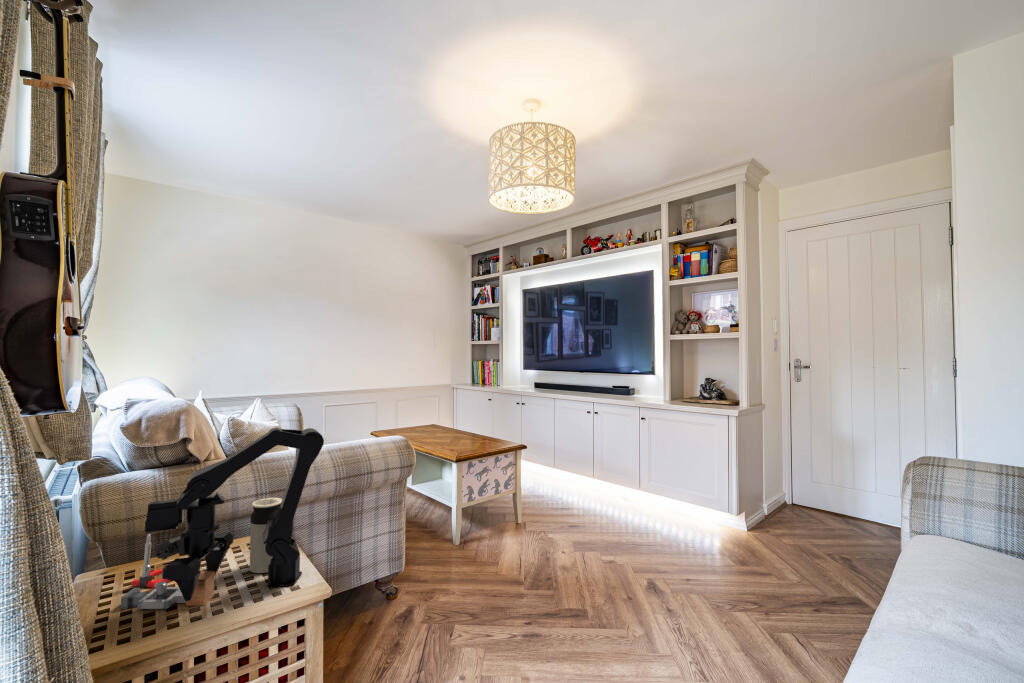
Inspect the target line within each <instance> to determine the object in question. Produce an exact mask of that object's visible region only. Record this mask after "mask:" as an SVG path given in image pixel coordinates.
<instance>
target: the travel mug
mask: <svg viewBox="0 0 1024 683" xmlns="http://www.w3.org/2000/svg"><path fill="white" fill-rule="evenodd" d="M282 499H283V498H280V497H266V498H261V499H257V500H256V501H253V502H252V503H251V506H252V508H253V511H252V513H251V515H250V528H249V529H250V534H249V538H250V541H249V571H250V572H251V573H255V574H265V573H266V574H267V573H268V565H269V564H270V560H271V558H272V557H271V556H269V555H268V554H267V553H266V550H265V544H264V543H263V537H262V534H263V532H264V531H265V529H266V525H267V520H272V521H273V520H274V518H275V517H276V516H277V514H278V511H279V508H280V505H281V502H282Z"/></svg>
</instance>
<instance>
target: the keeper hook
mask: <svg viewBox="0 0 1024 683" xmlns="http://www.w3.org/2000/svg"><path fill="white" fill-rule="evenodd" d="M167 587H168V582H160V583H158V584H156V598H155V599H153V600H166V599H167V598H168V596H167ZM146 595H148V591H141V587H133V588H131V589H130V590H129V591H128V592H126V593H125V594H124V595H122V596H121V597H120V610H129V609H130V608H134V607H135V608H136V607H137V608H138V601H140V600H141V599H142V598H144V597H145V596H146Z"/></svg>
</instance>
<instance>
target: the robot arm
mask: <svg viewBox="0 0 1024 683" xmlns="http://www.w3.org/2000/svg"><path fill="white" fill-rule="evenodd" d="M324 442H325V439H324V437H323V435H322V434H321V432H319V430H317V429H315V428H311V427H308V428H305V429H302V430H301V429H300V430H299V429H290V428H289V429H288V428H280V427H274V428H271V429H269V430H268V431H267V432H266V433H264V434H263V435H262V436H260V437H258V438H257V439H255V440H253V441H252V442H250V443H248V444H247V445H245V446H243V447H242V448H241V449H239V450H237V451H236V452H234V453H233V454H231V455H229V456H228V457H226V458H225V459H223V460H221V461H217V462H214V463H212V464H210V465H207V466H205V467H202V468H200V469H197V470H195V471H194V472H193V473H192V474H191V475H190V476H189V478H188V481H187V484H186V487H185V489H184V490H183V491H182V492H181V493H180V495H179V496H178V498H175V499H169V500H167V499H166V500H161V501H160V500H155V501H154V500H153V501H150V502H149V503H148V505H147V513H146V519H145V522H144V531H145V532H144V533H145V534H146V535H148V534H155V533H161V532H165V531H172V530H178V527H179V526H180V524H181V525H182V524H183V523H184V516H185V510H186V527H185V528H186V529H185V530H184V531H183V532H181V534H180V536H176V537H174V538H171V539H168V540H164V541H162V542H160V543H158V544H157V545H155V553H154V556H155V557H156V558H157V559H161V560H162V561H164V560H167V559H168V558H169V557H172V556H176V555H177V554H178V558H174V559H173V560H172V561H171V562H169V563H168V564H166V565H165V566H164V567H163V568H161V569H162V574H161V579H167V580H171V581H173V582H175V584H177V587H179V588H180V591H181V593H182V595H183V598H184V600H185V601H190V600H191V598H192V596H193V593H194V590H195V587H196V584H197V581H198V579H199V576H200V573H201V571H202V570H201V566H202V561H201V560H203V559H204V558H205V565H206V566H205V567H206V571H215V576H216V575H217V573H218V571H219V568H220V566H221V565H222V562H223V561H224V559H225V556H226V555H227V553H228V551H229V549H231V545H232V544H234V535H233V534H232V533H231V532H230V531H229V532H228V531H227V532H225V531H224V532H216V531H218V530H219V529H220V524H219V523H217V524H216V505H217V506H218V505H222V504H225V501H226V500H225V499H226V498H225V496H223V495H221V494H220V493H219V492H218V491H217V490H218V489H219V488H220V487H222V485H224V483H225V482H226V481H227V480H228V479H229V478H231V476H233V474H235V473H236V472H237V473H238V471H240V470H241V469H243V468H244V467H246V466H248V465H249V464H250V463H252V462H254V461H255V460H256V459H258V458H260V457H261V456H263V455H264V454H266V453H268V452H269V451H271V450H272V449H273V448H275V447H276V446H282V447H287V448H292V449H295V456H294V457H295V458H294V459H295V460H294V463H293V467H292V470H291V473H290V475H289V477H288V478H289V479H288V482H287V484H286V488H285V491H284V494H283V497H282V498H281V499H282V502H281V505H280V508H279V511H278V514H277V516H276V517H275V518H274V520H273V521H272V520H267V525H266V529H265V531H264V532H263V534H262V537H263V543H264V544H265V550H266V553H267V554H268V555H269V556H271V557H272V558H271V560H270V564H269V565H268V572H267V573H268V574H267V581H268V582H267V584H266V586H267V588H268V587H270V588H272V587H273V588H274V587H288V586H289V587H292V586H294V585H295V584H296V583H297V581H298V580H299V578H301V576H302V574H303V572H302V571H301V569H300V567H301V566H300V565H301V552H300V550H299V546H298V543H297V540H296V539H294V538H293V537H292V536H293V530H294V529H293V527H294V526H293V525H294V518H295V515H296V512H297V509H298V506H299V502H300V500H301V497H302V493H303V490H304V487H305V485H306V481H307V479H308V476H309V472H310V469H311V467H312V465H313V463H314V462H315V461H316V459H317V458H318V456H319V454H320V452H321V450H322V449H323V447H324ZM215 491H216V492H215ZM214 492H215V493H214ZM213 493H214V494H213ZM212 494H213V495H212ZM211 495H212V496H211ZM184 556H187V557H184ZM179 557H180V558H179ZM181 557H182V558H181Z"/></svg>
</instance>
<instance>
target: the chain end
mask: <svg viewBox="0 0 1024 683" xmlns="http://www.w3.org/2000/svg"><path fill="white" fill-rule="evenodd" d="M200 571H201V573H200V576H199V579H198V581H197V584H196V587H195V590H194V593H193V596H192V598H191V600H190V601H185V600H184V598H183V595H182V593H181V591H180V588H179V586H167V599H166V600H153V599H156V588H153V589H152V590H151V591H150V592H149V593H147V595H146V596H145V597H144V598H142V599H141V600H140V601H138V607H137V610H165V609H166V610H168V609H169V608H170V607H171V606H172V605H173V604H185V606H189V607H190V606H192V607H193V606H206V604H207V603H208V602H210V600H211V599H213V597H214V594H215V581H216V580H215V579H216V578H215V577H216V575H215V571H207V570H205V571H204V570H200ZM168 596H169V597H168Z"/></svg>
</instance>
